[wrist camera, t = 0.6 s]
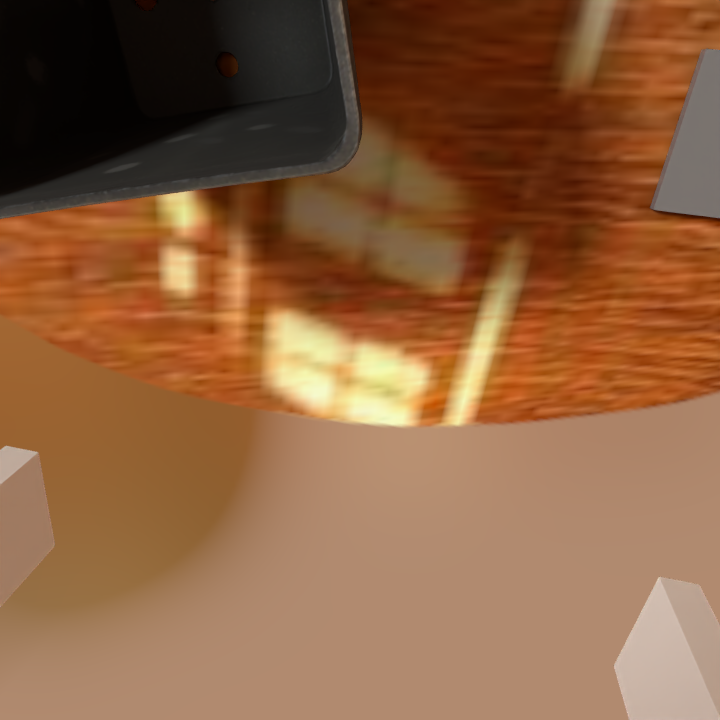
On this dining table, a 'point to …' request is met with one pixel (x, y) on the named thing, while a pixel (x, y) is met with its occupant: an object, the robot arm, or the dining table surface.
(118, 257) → the dining table surface
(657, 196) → the slate coaster
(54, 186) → the flower pot
